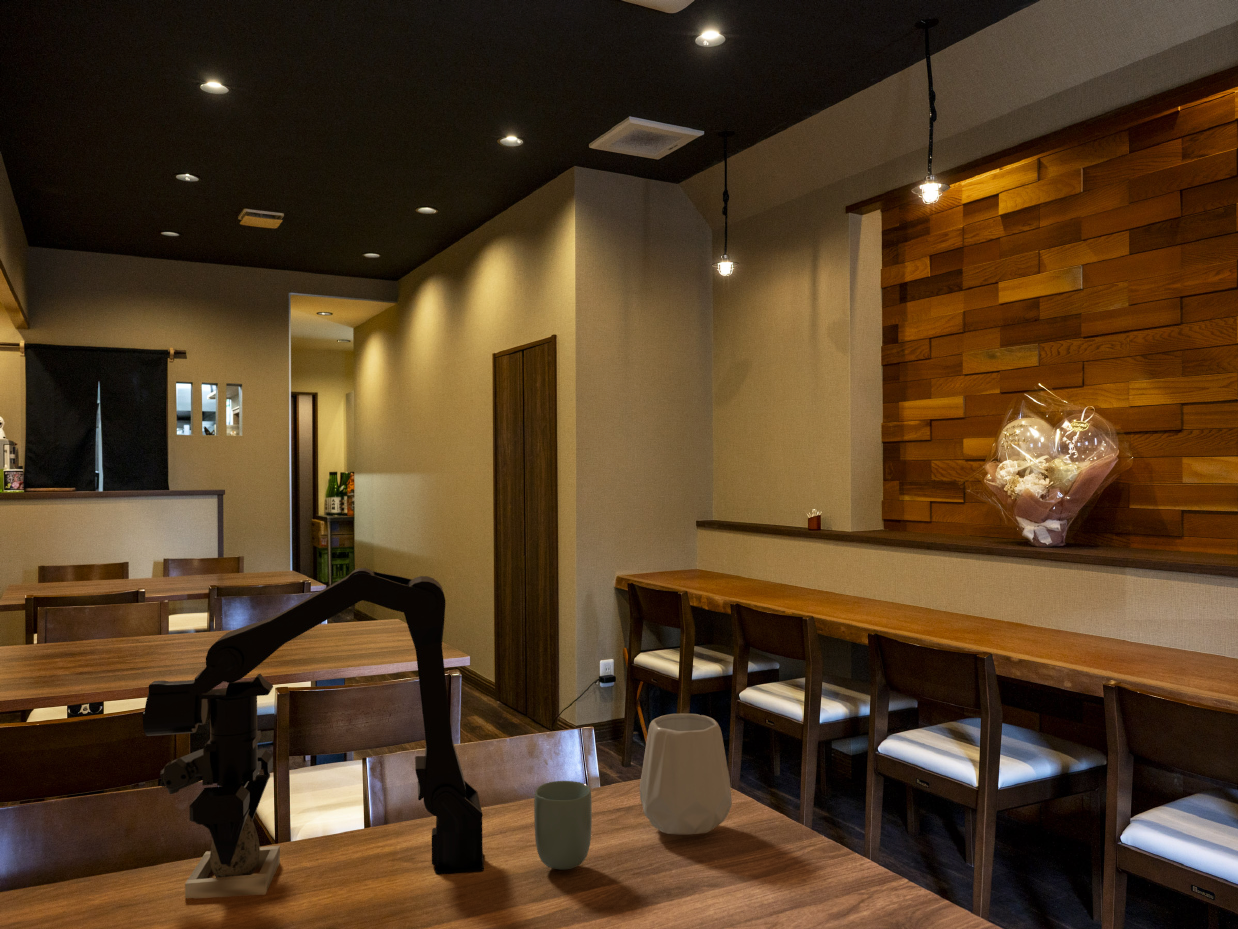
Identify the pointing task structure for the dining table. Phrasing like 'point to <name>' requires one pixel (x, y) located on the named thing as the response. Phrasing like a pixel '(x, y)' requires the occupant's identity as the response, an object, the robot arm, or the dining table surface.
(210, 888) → the egg stand
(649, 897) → the dining table surface
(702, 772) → the vase
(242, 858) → the decorative egg
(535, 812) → the cup
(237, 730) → the robot arm
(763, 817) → the dining table surface
